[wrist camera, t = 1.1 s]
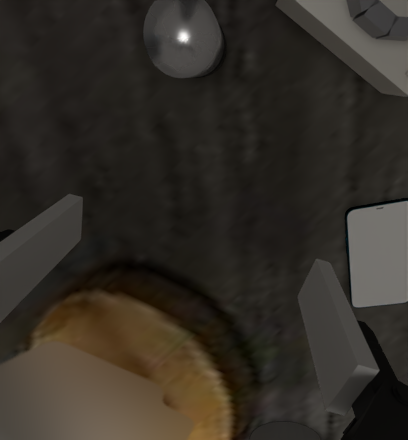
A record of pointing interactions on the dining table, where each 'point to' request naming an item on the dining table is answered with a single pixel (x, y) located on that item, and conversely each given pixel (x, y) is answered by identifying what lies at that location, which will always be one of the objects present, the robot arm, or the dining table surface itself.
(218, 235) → the dining table surface
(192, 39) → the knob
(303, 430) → the bowl
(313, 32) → the grey base with ring
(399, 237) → the smartphone
